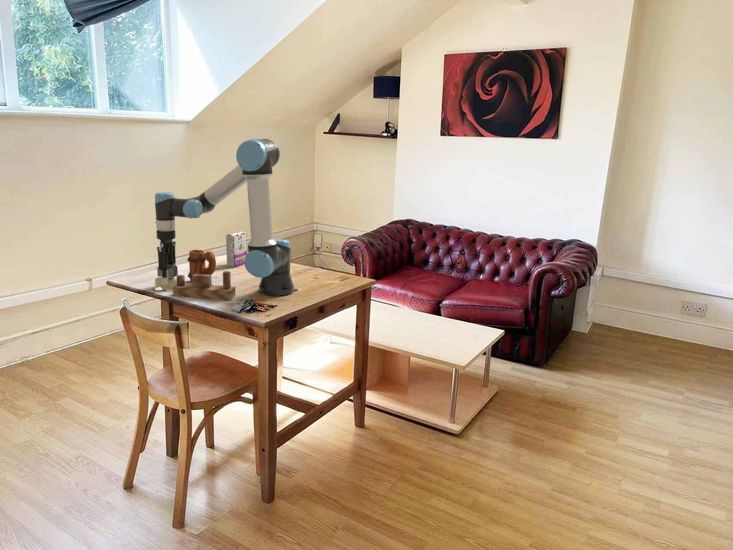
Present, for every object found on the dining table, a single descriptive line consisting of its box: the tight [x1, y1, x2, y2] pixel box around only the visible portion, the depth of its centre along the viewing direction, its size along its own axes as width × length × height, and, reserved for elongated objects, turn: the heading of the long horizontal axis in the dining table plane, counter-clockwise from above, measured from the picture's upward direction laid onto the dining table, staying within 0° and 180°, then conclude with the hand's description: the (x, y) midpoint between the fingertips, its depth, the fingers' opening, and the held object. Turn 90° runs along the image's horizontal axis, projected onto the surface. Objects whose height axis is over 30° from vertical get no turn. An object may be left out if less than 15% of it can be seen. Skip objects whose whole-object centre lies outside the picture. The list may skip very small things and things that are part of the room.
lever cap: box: [156, 265, 179, 278], centre depth 243 cm, size 7×4×5 cm, turn 85°
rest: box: [154, 276, 177, 292], centre depth 245 cm, size 10×10×4 cm
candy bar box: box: [225, 231, 248, 269], centre depth 286 cm, size 11×5×16 cm, turn 157°
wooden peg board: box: [172, 270, 237, 302], centre depth 235 cm, size 24×7×11 cm, turn 85°
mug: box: [187, 249, 217, 283], centre depth 253 cm, size 15×8×15 cm, turn 62°
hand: (168, 282), depth 244 cm, fingers closed on lever cap, 4 cm apart
